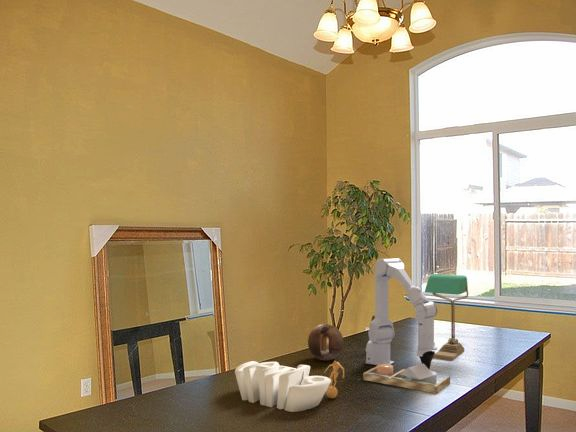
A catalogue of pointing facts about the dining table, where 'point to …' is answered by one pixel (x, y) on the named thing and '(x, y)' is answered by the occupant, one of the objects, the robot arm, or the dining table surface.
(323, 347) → the wooden sphere
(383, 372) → the tan smooth rounded piece
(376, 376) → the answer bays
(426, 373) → the wedge on round base
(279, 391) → the white wavy slab sculpture
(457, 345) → the banker's lamp
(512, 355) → the dining table surface
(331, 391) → the figurine
